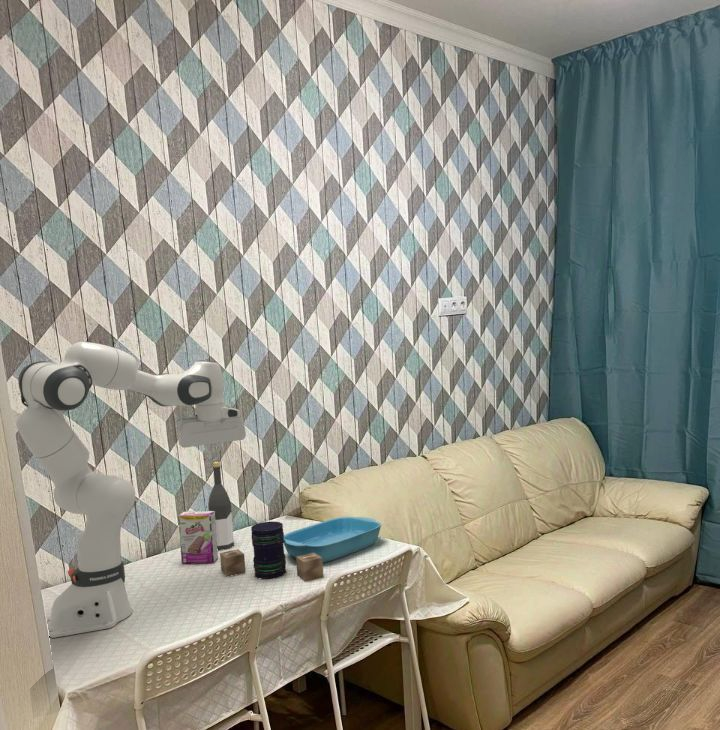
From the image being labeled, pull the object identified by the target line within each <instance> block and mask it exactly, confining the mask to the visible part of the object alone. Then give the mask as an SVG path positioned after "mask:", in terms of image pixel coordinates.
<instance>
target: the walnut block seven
mask: <svg viewBox="0 0 720 730" xmlns="http://www.w3.org/2000/svg"><path fill="white" fill-rule="evenodd" d="M219 558H220V559H219V561H220V571H222V572H223V573H224V574H225V575H226V576H225V575H224V574H223V573H222V572H221V573H222V574H223V575H224V576H225V577H227V576H229V577H232V576H231V575H233V576H236V575H235V574H237V575H241V573H242V574H245V572H246V561H245V560H246V559H245V553H243V552H242V551H241V550H240V548H239V549H238V548H237V549H233V550H232V549H231V550H228V551H224V552H219Z"/></svg>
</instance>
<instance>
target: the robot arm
mask: <svg viewBox="0 0 720 730" xmlns="http://www.w3.org/2000/svg"><path fill="white" fill-rule="evenodd" d="M17 379H18V381H17V382H18V389H19V391H20V399H21V404H23V406H25V407H26V408H25V409H24V410H23V411H22V412H21V413H20V415H19V416H18V418H17V421H16V428H17V431H18V433H19V435H20V437H21V438H22V440H23V442H24V445H26V447H27V449H28V450H29V451H30V453H31V454H32V455H33V457H34V458H35V460H36V461H37V462H38V463H39V464H40V466H41V467H42V468H43V469H44V470H45V472H46V473H47V475H49V477H50V479H51V481H52V483H53V485H54V489H53V501H54V503H55V504H56V505H57V506H58V507H59V508H60V509H62V510H64V511H67V512H68V513H71V514H75V515H76V514H77V515H83V516H85V517H86V521H85V527H84V530H83V532H82V533H81V534H80V535H79V536H78V537H77V540H76V544H75V545H76V553H77V556H76V557H77V566H78V567H77V568H76V569H75V568H74V567H71V568H68V570H67V575H68V577H70V581H71V584H70V585H69V586H68V587H67V588H66V589H65V590H63V592H62V593H61V594H60V595H58V596H57V597H56V598H55V599H54V600H53V603H52V607H51V612H50V616H48V617H46V619H47V624H48V630H49V635H50V637H49V638H60V637H65V636H66V637H67V636H72V635H78V634H82V633H88V632H94V631H100V630H106V629H111V628H113V627H115V626H117V624H118V623H119V622H121V621H123V620H125V619H127V618H128V617H129V616H130V615H131V614H132V613H133V609H132V605H131V603H130V601H129V600H130V599H129V598H128V594H127V589H126V585H125V582H126V569H125V565H124V564H125V563H124V561H123V560H122V548H121V546H122V545H121V530H122V526H123V525H122V524H123V522H124V519H125V517H126V516H127V514H128V513H129V512H130V511H131V510H132V508H133V506H134V504H135V502H136V490H135V487H134V485H133V484H132V483H131V481H129V480H127V479H124V478H122V477H119V476H116V475H109V474H99V473H96V472H94V471H93V470H92V468H90V466H89V464H88V462H89V460H90V452H89V449H88V448H87V447H86V445H85V444H84V443H83V441H82V440H81V438H79V436H78V434H77V433H76V432H75V431H74V429H73V428H72V426H71V425H70V424H69V423H68V422H67V421H66V418H65V416H64V412H65V411H72V410H75V409H78V408H79V407H80V406H81V405H83V404H84V402H86V401H85V400H86V399H87V397H88V394H89V393H90V389H91V387H92V386H97V387H100V388H103V389H108V390H112V391H113V390H116V391H126V390H128V391H131V392H135V393H138V394H141V395H144V396H146V397H147V398H148V399H150V400H151V401H152V402H154V404H156V405H158V406H159V407H172V406H173V407H191V406H195V407H194V408H195V414H193V415H188V416H187V415H183V416H181V417H180V418H179V419H177V421H176V427H177V428H176V429H177V431H178V438H177V439H178V445H179V446H180V448H184V449H185V448H191V447H199V446H203V447H204V449H205V451H206V452H207V453H208V456H207V457H208V459H209V460H212V459H213V460H214V459H219V458H220V452H221V449H222V447H223V443H229V442H236V441H237V442H238V441H243V440H245V439H246V437H247V436H246V435H247V434H246V433H247V432H246V427H245V422H244V419H243V418H242V417H241V415H242V413H241V412H242V411H241V410H239V409H237V408H234V407H230V406H226V403H225V398H224V389H225V388H224V387H225V386H224V377H223V371H222V368H221V365H220V364H219V363H218V362H217V361H213V360H205V359H204V360H202V359H200V360H196V361H194V363H193V364H192V366H190V367H189V368H188V369H187V370H185V371H183V372H182V373H167V372H165V373H164V372H163V373H157V374H151V373H149V372H146V371H142V370H139V367H138V362H137V360H136V358H135V357H134V356H133V355H131V354H129V353H127V352H126V351H124V350H122V349H120V348H116V347H114V346H109V345H106V344H101V343H97V342H89V341H78V342H75V343H73V344H71V346H70V347H69V348H68V349H67V351H66V353H65V355H64V357H63V359H62V361H60V362H59V363H57V362H49V361H44V360H42V361H34V362H31V363H29V364H27V365H26V366H25V367H24V368H23V369H21V371H20V373H19V375H18V378H17ZM214 444H215V446H216V449H215V451H211V449H210V448H211V445H214Z"/></svg>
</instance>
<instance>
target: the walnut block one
mask: <svg viewBox="0 0 720 730" xmlns="http://www.w3.org/2000/svg"><path fill="white" fill-rule="evenodd" d="M295 561H296V562H295V563H296V575H297V577H298V576H299V577H300V579H301V580H302V579H303V580H302V581H304V582H305V583H306V582H311V581H314V580H318V579H321V578H324V565H323V564H324V563H323V562H322V557H320V556H319V555H317V554H315V553H310V554H306V555H301V556H297V557H296V558H295ZM299 577H298V578H299Z"/></svg>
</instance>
